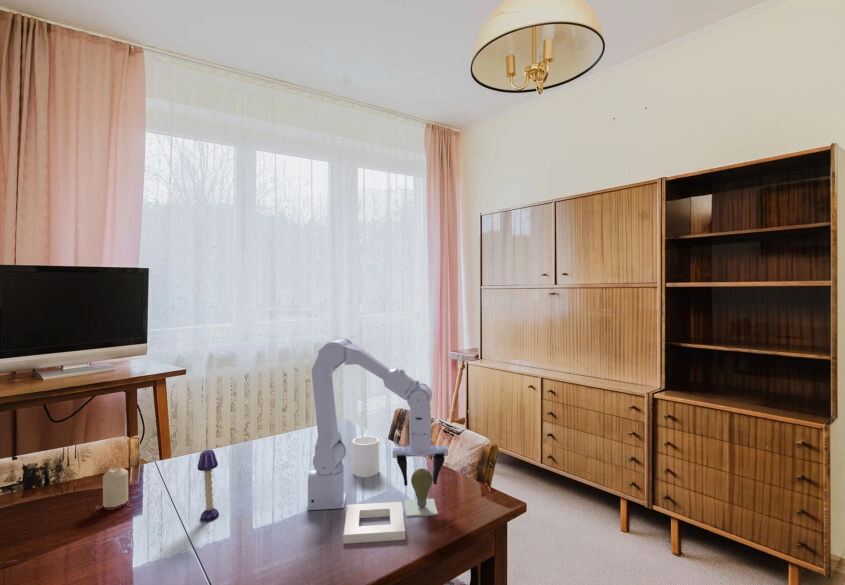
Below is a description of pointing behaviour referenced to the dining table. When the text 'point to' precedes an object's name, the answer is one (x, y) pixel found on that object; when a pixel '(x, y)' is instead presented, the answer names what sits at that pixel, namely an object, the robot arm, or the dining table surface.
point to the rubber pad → (415, 510)
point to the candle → (115, 487)
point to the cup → (365, 456)
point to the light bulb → (421, 485)
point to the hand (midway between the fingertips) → (420, 483)
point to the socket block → (374, 532)
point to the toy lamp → (208, 483)
